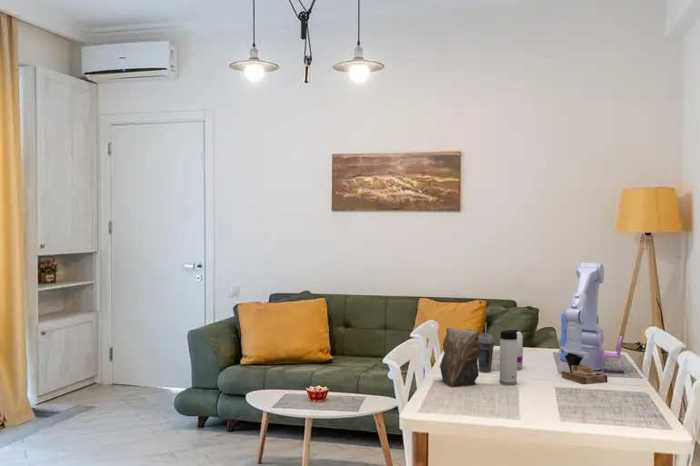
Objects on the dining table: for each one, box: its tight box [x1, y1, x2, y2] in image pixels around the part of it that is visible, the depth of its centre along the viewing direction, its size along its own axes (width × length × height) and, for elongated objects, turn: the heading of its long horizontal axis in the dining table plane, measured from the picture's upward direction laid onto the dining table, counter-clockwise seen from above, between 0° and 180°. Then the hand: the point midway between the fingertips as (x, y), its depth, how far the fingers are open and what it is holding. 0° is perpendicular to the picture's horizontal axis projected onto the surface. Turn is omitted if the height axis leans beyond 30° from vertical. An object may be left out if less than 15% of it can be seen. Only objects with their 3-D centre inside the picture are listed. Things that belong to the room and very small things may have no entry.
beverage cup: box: [477, 321, 496, 373], centre depth 277 cm, size 7×7×20 cm
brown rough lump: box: [439, 327, 480, 388], centre depth 256 cm, size 13×13×20 cm
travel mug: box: [499, 329, 519, 386], centre depth 256 cm, size 6×7×20 cm
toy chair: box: [601, 335, 626, 375], centre depth 278 cm, size 8×9×15 cm
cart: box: [571, 364, 596, 377], centre depth 264 cm, size 5×8×5 cm, turn 23°
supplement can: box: [517, 331, 524, 371], centre depth 284 cm, size 8×8×15 cm
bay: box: [561, 370, 608, 385], centre depth 264 cm, size 11×12×2 cm
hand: (573, 373), depth 269 cm, fingers closed
